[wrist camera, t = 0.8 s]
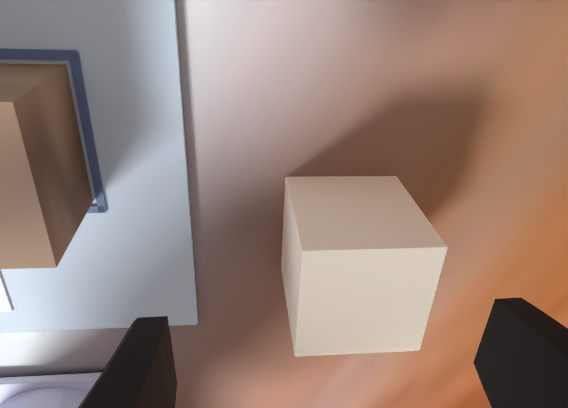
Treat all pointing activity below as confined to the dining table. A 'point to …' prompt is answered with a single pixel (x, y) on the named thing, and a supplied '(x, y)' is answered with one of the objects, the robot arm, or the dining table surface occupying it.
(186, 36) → the dining table surface
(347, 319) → the ivory block
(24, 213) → the walnut base block
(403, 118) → the dining table surface
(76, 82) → the board
